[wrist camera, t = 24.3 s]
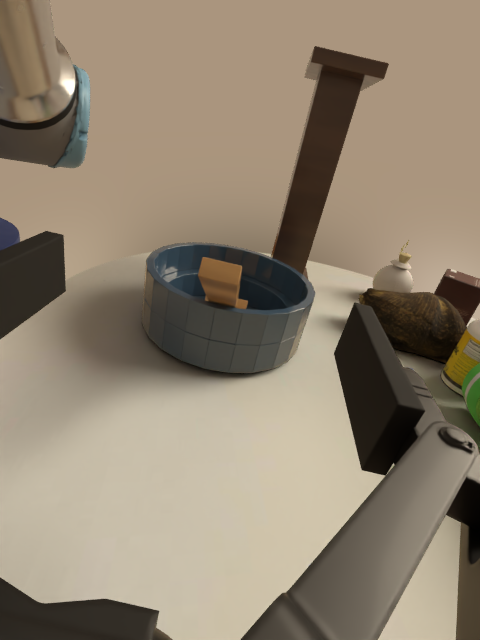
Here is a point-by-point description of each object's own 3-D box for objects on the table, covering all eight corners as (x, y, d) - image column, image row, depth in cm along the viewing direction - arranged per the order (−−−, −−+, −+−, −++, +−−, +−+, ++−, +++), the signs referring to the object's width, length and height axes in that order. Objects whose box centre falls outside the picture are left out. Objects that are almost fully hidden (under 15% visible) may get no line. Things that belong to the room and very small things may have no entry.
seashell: (458, 336, 51) (489, 299, 47) (475, 383, 45) (513, 346, 40) (348, 305, 52) (368, 266, 47) (348, 347, 45) (371, 306, 41)
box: (462, 334, 53) (488, 290, 50) (421, 317, 56) (443, 274, 52) (465, 322, 58) (489, 281, 54) (427, 307, 61) (448, 267, 57)
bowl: (111, 307, 39) (113, 248, 36) (226, 285, 51) (236, 238, 48) (211, 403, 30) (226, 332, 26) (325, 347, 41) (346, 294, 38)
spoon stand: (308, 306, 51) (389, 63, 37) (253, 293, 51) (314, 45, 37) (303, 276, 61) (365, 78, 47) (258, 265, 61) (307, 65, 47)
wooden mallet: (254, 289, 21) (261, 259, 21) (180, 272, 21) (188, 242, 21) (242, 322, 41) (246, 307, 42) (206, 313, 41) (209, 298, 42)
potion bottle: (368, 301, 57) (393, 242, 52) (366, 285, 64) (388, 231, 59) (406, 312, 56) (435, 253, 52) (399, 295, 63) (425, 241, 58)
